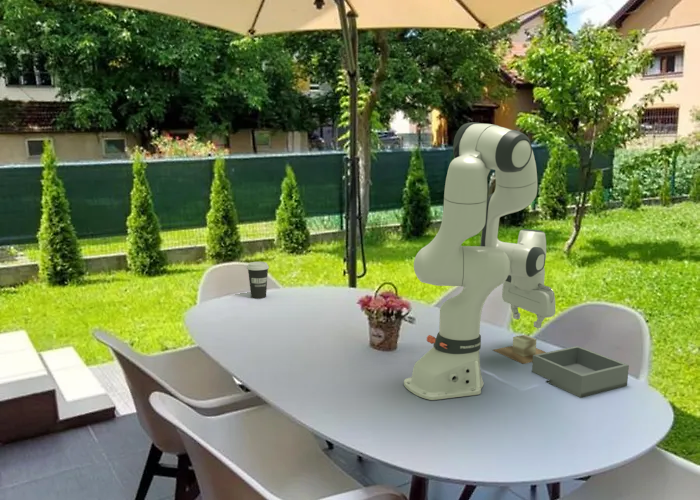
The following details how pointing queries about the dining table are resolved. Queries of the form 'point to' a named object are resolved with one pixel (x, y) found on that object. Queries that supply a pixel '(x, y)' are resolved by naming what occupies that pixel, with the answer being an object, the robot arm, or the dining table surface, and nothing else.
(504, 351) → the walnut board
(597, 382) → the bin
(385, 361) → the dining table surface
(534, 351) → the cream block
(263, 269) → the coffee cup
